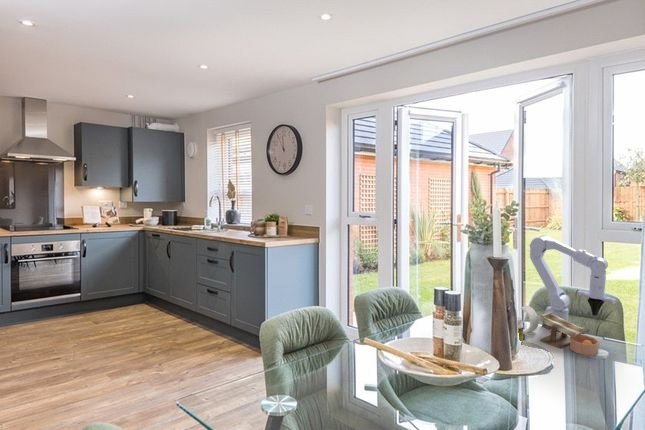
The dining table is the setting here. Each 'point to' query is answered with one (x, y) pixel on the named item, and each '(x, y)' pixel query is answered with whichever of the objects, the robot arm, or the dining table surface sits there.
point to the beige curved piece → (562, 325)
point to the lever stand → (556, 338)
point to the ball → (587, 342)
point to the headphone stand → (531, 320)
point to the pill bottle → (520, 329)
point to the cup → (584, 345)
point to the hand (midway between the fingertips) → (594, 315)
